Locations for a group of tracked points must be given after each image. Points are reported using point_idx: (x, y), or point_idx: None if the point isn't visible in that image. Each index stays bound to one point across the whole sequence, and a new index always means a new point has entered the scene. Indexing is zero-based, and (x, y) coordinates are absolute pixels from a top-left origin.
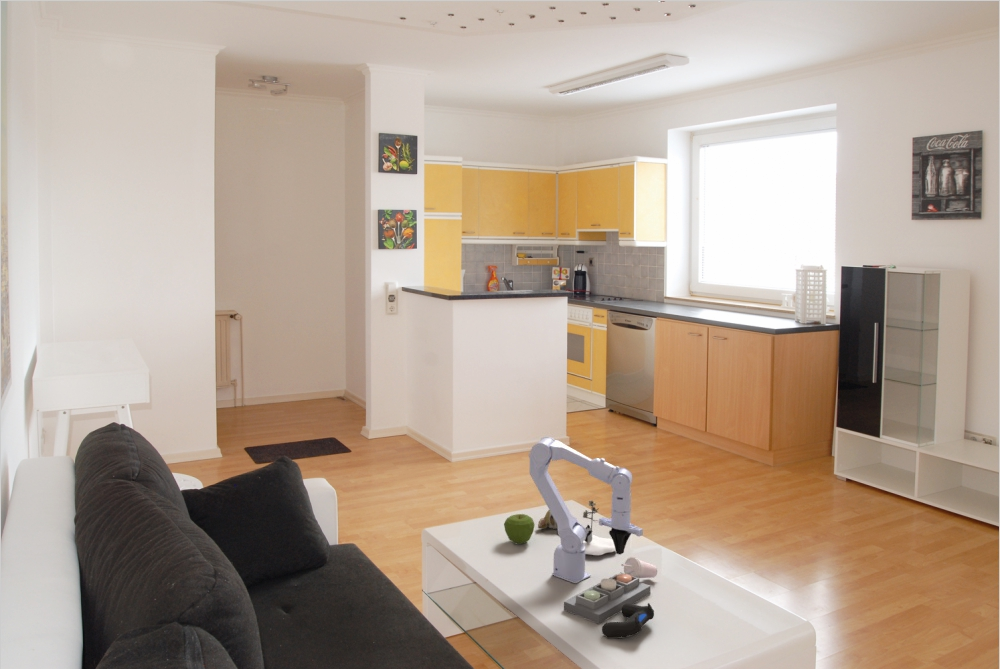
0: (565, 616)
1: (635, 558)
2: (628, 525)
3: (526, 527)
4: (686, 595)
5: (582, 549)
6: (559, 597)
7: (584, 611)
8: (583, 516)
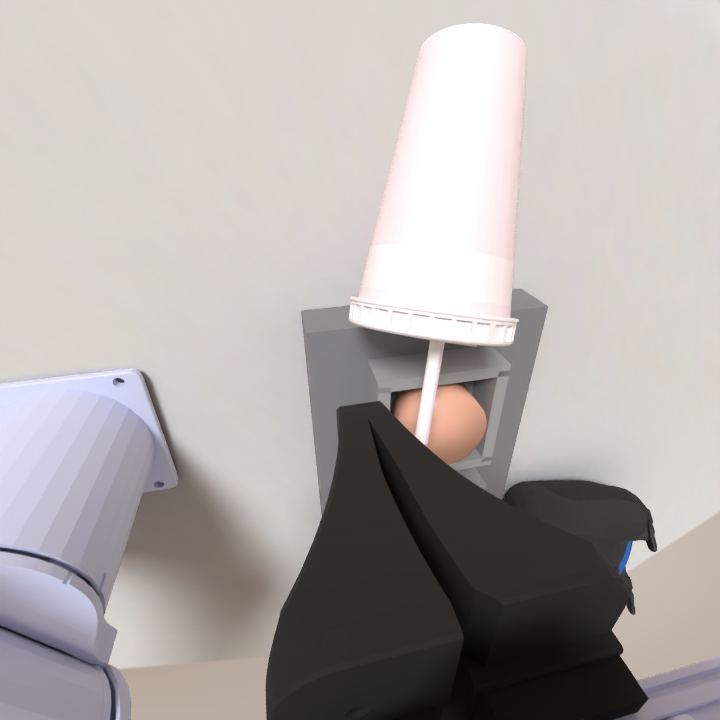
0: None
1: (475, 327)
2: None
3: None
4: (694, 149)
5: (78, 607)
6: (246, 574)
7: None
8: None
